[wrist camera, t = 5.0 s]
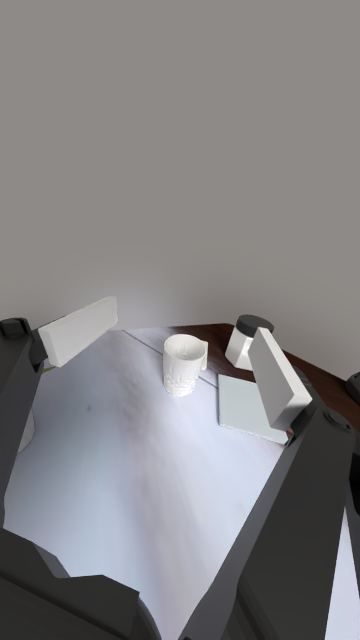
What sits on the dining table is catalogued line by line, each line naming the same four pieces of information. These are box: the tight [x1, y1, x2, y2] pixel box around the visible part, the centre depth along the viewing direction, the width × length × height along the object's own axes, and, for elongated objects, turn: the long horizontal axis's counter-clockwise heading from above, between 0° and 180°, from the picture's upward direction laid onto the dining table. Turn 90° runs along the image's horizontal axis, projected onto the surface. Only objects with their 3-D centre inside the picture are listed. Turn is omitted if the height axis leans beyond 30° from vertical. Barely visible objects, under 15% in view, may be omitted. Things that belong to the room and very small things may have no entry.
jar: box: [225, 315, 274, 371], centre depth 39 cm, size 9×8×12 cm
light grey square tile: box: [218, 374, 288, 444], centre depth 30 cm, size 11×11×1 cm
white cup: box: [163, 334, 206, 397], centre depth 30 cm, size 8×8×10 cm
